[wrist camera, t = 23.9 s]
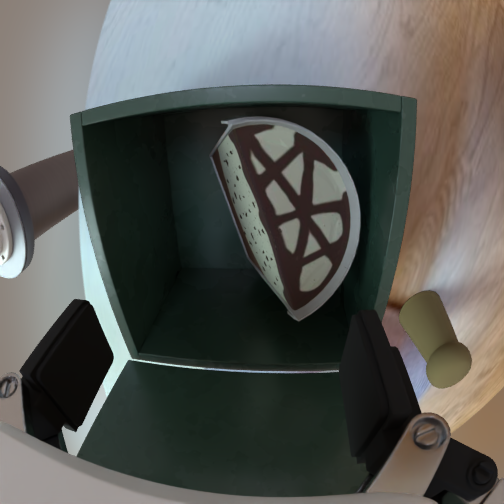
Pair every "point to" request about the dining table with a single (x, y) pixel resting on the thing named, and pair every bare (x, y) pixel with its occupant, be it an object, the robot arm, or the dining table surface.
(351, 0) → the dining table surface
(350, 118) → the waste bin
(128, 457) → the bin lid
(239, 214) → the food container
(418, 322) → the olive pawn figure
